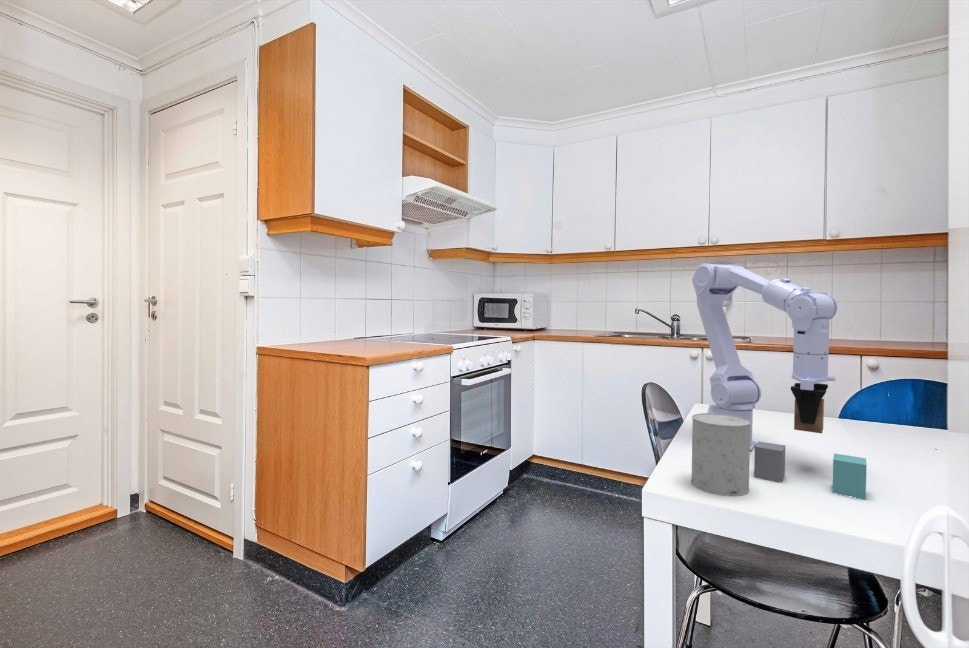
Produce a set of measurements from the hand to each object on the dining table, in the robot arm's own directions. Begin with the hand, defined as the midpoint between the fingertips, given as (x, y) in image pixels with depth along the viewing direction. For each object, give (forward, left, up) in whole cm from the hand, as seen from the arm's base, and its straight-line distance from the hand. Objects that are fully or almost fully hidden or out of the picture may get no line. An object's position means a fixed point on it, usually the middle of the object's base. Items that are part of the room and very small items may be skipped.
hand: (808, 421), depth 92 cm
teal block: (+7, -9, -10) cm, 15 cm away
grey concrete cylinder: (-12, -20, -10) cm, 26 cm away
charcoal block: (-5, -9, -10) cm, 15 cm away
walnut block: (0, 0, -2) cm, 2 cm away
